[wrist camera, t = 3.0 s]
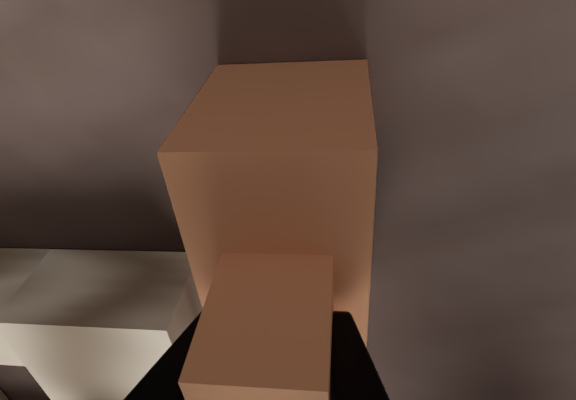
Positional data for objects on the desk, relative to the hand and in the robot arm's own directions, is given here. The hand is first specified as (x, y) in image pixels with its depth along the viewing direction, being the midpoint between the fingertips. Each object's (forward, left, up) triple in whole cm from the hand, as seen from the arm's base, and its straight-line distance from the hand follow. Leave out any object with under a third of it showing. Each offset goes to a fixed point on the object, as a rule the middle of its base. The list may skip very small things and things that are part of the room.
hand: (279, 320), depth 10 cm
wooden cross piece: (0, 0, -5) cm, 5 cm away
